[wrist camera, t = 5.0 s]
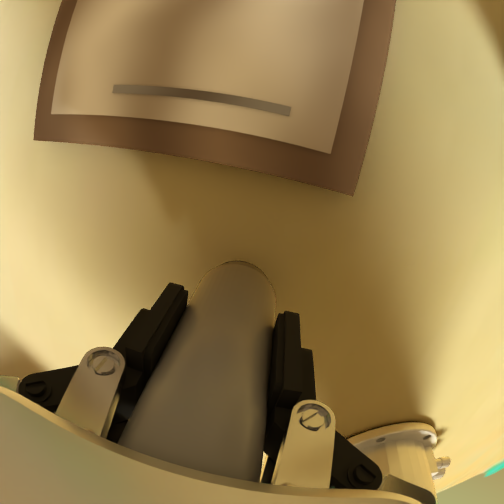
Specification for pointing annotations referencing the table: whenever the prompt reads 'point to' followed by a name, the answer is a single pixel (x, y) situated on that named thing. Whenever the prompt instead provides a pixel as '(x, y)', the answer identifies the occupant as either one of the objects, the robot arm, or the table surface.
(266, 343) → the translucent bottle
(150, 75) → the board
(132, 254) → the table surface
